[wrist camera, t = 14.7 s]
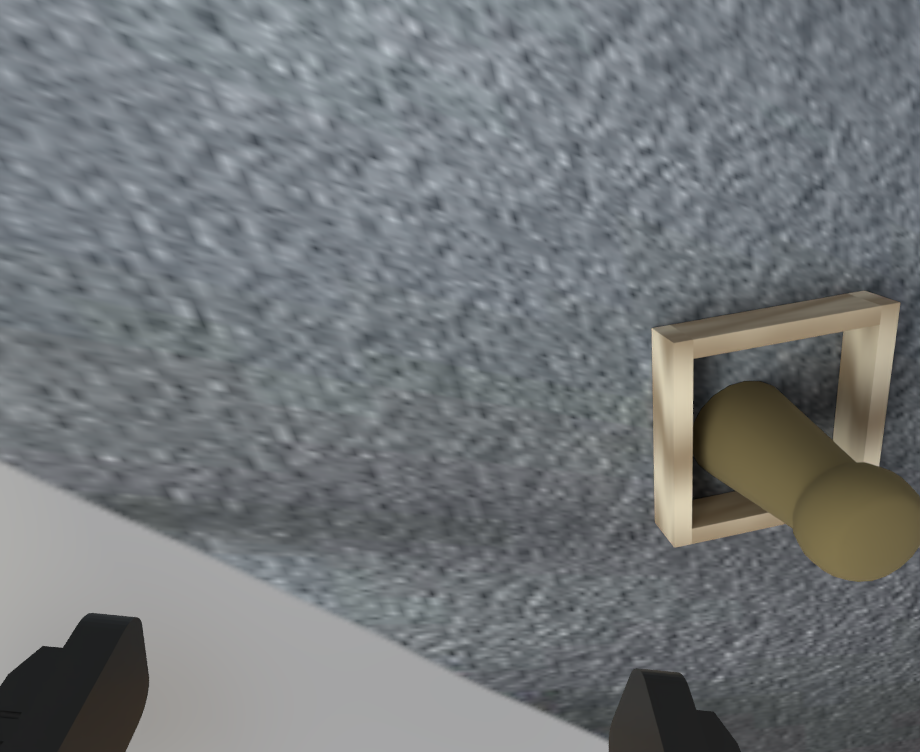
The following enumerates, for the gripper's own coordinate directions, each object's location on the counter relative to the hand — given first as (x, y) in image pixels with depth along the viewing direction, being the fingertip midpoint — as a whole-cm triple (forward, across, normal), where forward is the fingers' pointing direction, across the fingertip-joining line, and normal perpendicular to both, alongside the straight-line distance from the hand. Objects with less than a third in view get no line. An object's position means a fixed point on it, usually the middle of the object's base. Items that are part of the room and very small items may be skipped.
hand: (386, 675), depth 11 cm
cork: (+25, -18, +9) cm, 32 cm away
